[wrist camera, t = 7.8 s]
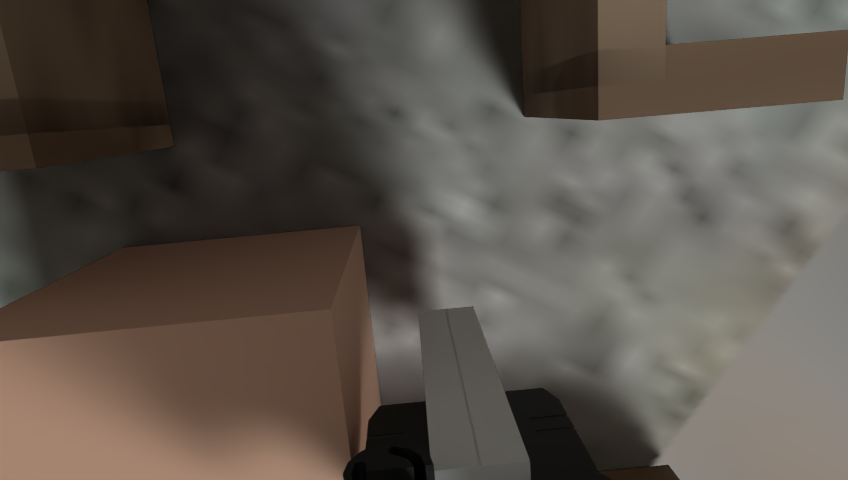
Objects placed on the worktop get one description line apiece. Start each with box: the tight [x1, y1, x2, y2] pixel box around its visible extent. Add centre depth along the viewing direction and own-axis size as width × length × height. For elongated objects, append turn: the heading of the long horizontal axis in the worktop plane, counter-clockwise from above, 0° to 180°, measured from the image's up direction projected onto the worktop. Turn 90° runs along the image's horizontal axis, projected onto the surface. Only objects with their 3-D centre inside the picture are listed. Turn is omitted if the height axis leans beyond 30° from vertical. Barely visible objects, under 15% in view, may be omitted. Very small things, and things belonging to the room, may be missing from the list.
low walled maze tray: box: [0, 30, 848, 480], centre depth 14 cm, size 14×27×6 cm, turn 95°
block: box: [0, 225, 381, 480], centre depth 13 cm, size 7×7×7 cm
